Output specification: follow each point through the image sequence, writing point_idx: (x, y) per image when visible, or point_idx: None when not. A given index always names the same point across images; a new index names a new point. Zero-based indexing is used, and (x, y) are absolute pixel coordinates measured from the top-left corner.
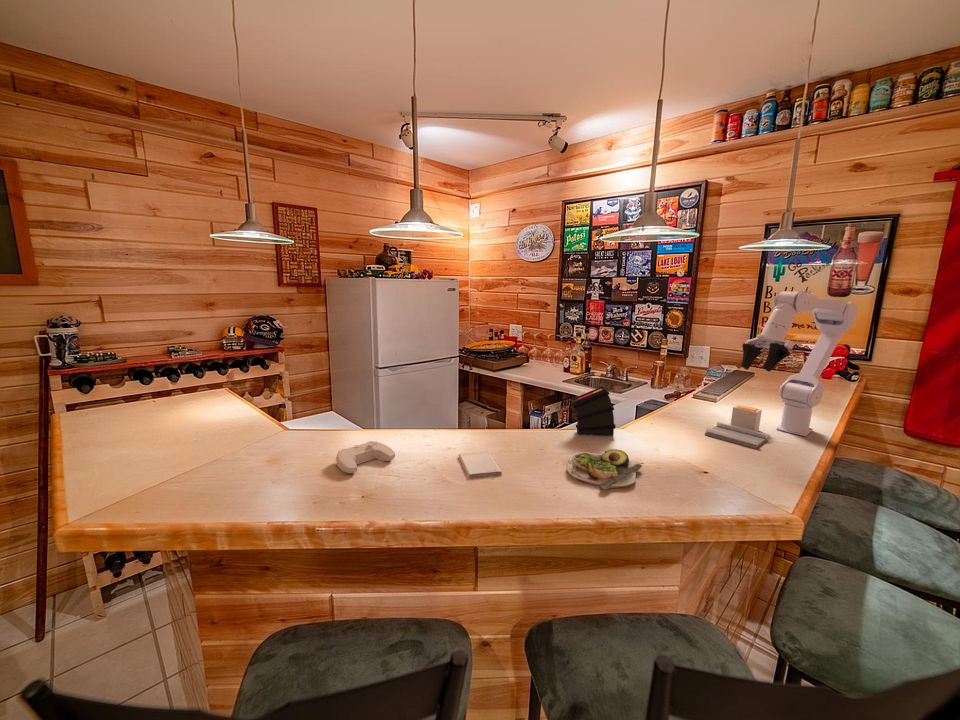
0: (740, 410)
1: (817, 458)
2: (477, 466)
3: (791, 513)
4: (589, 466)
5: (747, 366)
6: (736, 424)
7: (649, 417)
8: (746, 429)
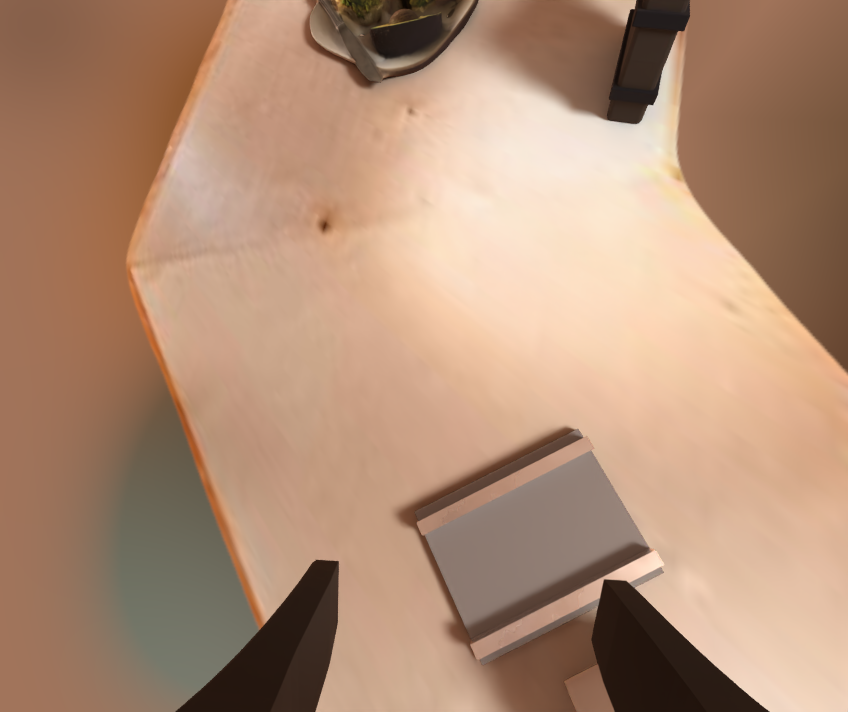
0: None
1: None
2: None
3: (129, 268)
4: None
5: (606, 648)
6: None
7: (814, 342)
8: (547, 614)
